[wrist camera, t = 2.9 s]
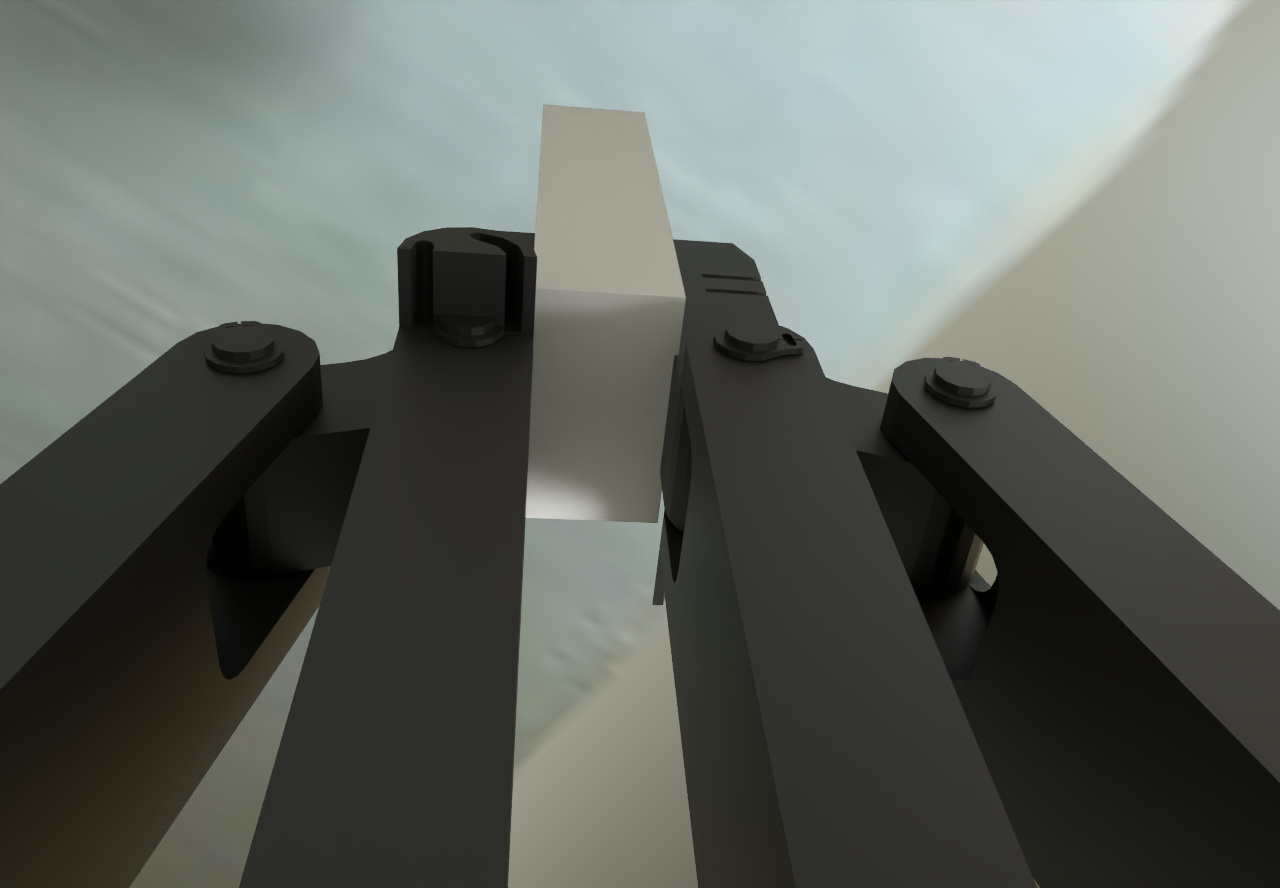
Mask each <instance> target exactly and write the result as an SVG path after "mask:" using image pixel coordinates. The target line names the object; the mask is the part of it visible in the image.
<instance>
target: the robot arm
mask: <svg viewBox="0 0 1280 888" xmlns="http://www.w3.org/2000/svg"><path fill="white" fill-rule="evenodd" d="M397 255H398V292H399V330H398V334H397V337H396V341H395V344H394V348H393V350H391V351H389V352H387V353H385V354H382V355H379V356H376V357H372V358H369V359H365V360H359V361H353V362H347V363H337V364H328V365H320V354H319V351H318V348H317V346H316V343H315V341H314V340H312V339H311V338H309V337H308V336H306V335H305V334H303V333H302V332H300V331H297V330H294V329H290V328H287V327H283V326H280V325H272V324H261V323H260V322H256V321H241V324H238V323H237V322H232V323H225V324H221V325H220V326H219V327H215V328H211V329H208V330H204V331H200V332H197V333H195V334H193V335H191V336H189V337H188V338H186V339H184V340H182V341H180V342H179V343H177V344H176V345H174V346H173V347H172V348H171V349H169V350H168V351H167V352H166V353H164V354H163V355H162V356H161V357H159V358H158V359H157V360H156V361H154V362H153V363H152V364H151V365H149V366H148V367H147V368H146V369H144V370H143V371H142V372H141V373H139V374H138V375H137V376H136V377H134V378H133V379H132V380H131V381H129V382H128V383H127V384H126V385H124V386H123V387H122V388H121V389H119V390H118V391H117V392H116V393H114V394H113V395H112V396H111V397H109V398H108V399H107V400H106V401H104V402H103V403H102V404H100V405H99V406H98V407H97V408H95V409H94V410H93V411H92V412H90V413H89V414H88V415H87V416H85V417H84V418H83V419H82V420H80V421H79V422H78V423H77V424H75V425H74V426H73V427H72V428H70V429H69V430H68V431H67V432H65V433H64V434H63V435H62V436H60V437H59V438H58V439H57V440H55V441H54V442H53V443H52V444H50V445H49V446H48V447H47V448H45V449H44V450H43V451H42V452H40V453H39V454H38V455H37V456H35V457H34V458H33V459H32V460H30V461H29V462H28V463H27V464H25V465H24V466H23V467H21V468H20V469H19V470H18V471H16V472H15V473H14V474H13V475H11V476H10V477H9V478H8V479H6V480H5V481H4V482H3V483H1V484H0V888H129V887H130V885H131V884H132V883H133V881H134V880H135V878H136V877H137V875H138V874H139V872H140V871H141V869H142V868H143V866H144V865H145V863H146V862H147V860H148V859H149V857H150V856H151V854H152V853H153V851H154V850H155V848H156V847H157V845H158V844H159V843H160V841H161V840H162V838H163V837H164V835H165V834H166V832H167V831H168V829H169V828H170V826H171V825H172V823H173V822H174V820H175V819H176V817H177V816H178V814H179V813H180V811H181V810H182V808H183V807H184V805H185V804H186V802H187V801H188V800H189V798H190V797H191V795H192V794H193V792H194V791H195V789H196V788H197V786H198V785H199V783H200V782H201V780H202V779H203V777H204V776H205V774H206V773H207V771H208V770H209V768H210V767H211V765H212V764H213V762H214V761H215V759H216V758H217V757H218V755H219V754H220V752H221V751H222V749H223V748H224V746H225V745H226V743H227V742H228V740H229V739H230V737H231V736H232V734H233V733H234V731H235V730H236V728H237V727H238V725H239V724H240V722H241V721H242V719H243V718H244V717H245V715H246V714H247V712H248V711H249V709H250V708H251V706H252V705H253V703H254V702H255V700H256V699H257V697H258V696H259V694H260V693H261V691H262V690H263V688H264V687H265V685H266V684H267V682H268V681H269V679H270V678H271V676H272V675H273V674H274V672H275V671H276V669H277V668H278V666H279V665H280V663H281V662H282V660H283V659H284V657H285V656H286V654H287V653H288V651H289V650H290V648H291V647H292V645H293V644H294V642H295V641H296V639H297V638H298V636H299V635H300V633H301V632H302V631H303V629H304V628H305V626H306V625H307V623H308V622H309V620H310V619H311V617H312V616H313V614H314V613H315V611H316V610H317V608H318V607H319V610H318V613H317V617H316V620H315V624H314V627H313V631H312V634H311V638H310V641H309V645H308V648H307V652H306V655H305V659H304V662H303V666H302V669H301V673H300V676H299V680H298V683H297V687H296V690H295V694H294V697H293V701H292V704H291V708H290V711H289V715H288V718H287V722H286V725H285V729H284V732H283V736H282V739H281V743H280V746H279V750H278V753H277V757H276V760H275V764H274V767H273V771H272V774H271V778H270V781H269V785H268V788H267V792H266V795H265V799H264V802H263V806H262V809H261V813H260V816H259V819H258V823H257V826H256V830H255V833H254V837H253V840H252V844H251V847H250V851H249V854H248V858H247V861H246V865H245V868H244V872H243V875H242V879H241V882H240V886H239V888H508V872H509V851H510V830H511V810H512V809H511V808H512V789H513V768H514V747H515V727H516V706H517V685H518V664H519V643H520V622H521V602H522V581H523V560H524V539H525V518H547V519H572V520H596V521H621V522H645V523H658V515H659V507H660V500H661V492H663V499H664V507H665V511H664V519H663V527H662V534H661V542H660V550H659V558H658V566H657V573H656V581H655V589H654V597H653V604H652V605H663V602H664V598H665V601H666V610H667V618H668V627H669V636H670V645H671V653H672V662H673V671H674V679H675V688H676V697H677V705H678V714H679V723H680V731H681V740H682V749H683V758H684V767H685V776H686V784H687V793H688V801H689V810H690V819H691V828H692V836H693V845H694V854H695V862H696V871H697V880H698V888H1037V886H1036V884H1035V881H1036V882H1037V884H1038V885H1039V886H1040V888H1280V611H1279V610H1278V609H1277V608H1276V607H1275V606H1274V605H1272V604H1271V603H1270V602H1269V601H1268V600H1267V599H1266V598H1264V597H1263V596H1262V595H1261V594H1260V593H1258V592H1257V591H1256V590H1255V589H1254V588H1253V587H1252V586H1250V585H1249V584H1248V583H1247V582H1246V581H1245V580H1243V579H1242V578H1241V577H1240V576H1239V575H1238V574H1236V573H1235V572H1234V571H1233V570H1232V569H1231V568H1229V567H1228V566H1227V565H1226V564H1225V563H1224V562H1222V561H1221V560H1220V559H1219V558H1218V557H1217V556H1215V555H1214V554H1213V553H1212V552H1211V551H1210V550H1208V549H1207V548H1206V547H1205V546H1204V545H1202V544H1201V543H1200V542H1199V541H1198V540H1197V539H1196V538H1194V537H1193V536H1192V535H1191V534H1190V533H1189V532H1187V531H1186V530H1185V529H1184V528H1183V527H1181V526H1180V525H1179V524H1178V523H1177V522H1176V521H1175V520H1173V519H1172V518H1171V517H1170V516H1169V515H1167V514H1166V513H1165V512H1164V511H1163V510H1162V509H1161V508H1159V507H1158V506H1157V505H1156V504H1155V503H1154V502H1152V501H1151V500H1150V499H1149V498H1147V496H1145V495H1144V494H1143V493H1142V492H1141V491H1140V490H1138V489H1137V488H1136V487H1135V486H1134V485H1133V484H1131V483H1130V482H1129V481H1128V480H1127V479H1125V478H1124V477H1123V476H1122V475H1121V474H1120V473H1119V472H1117V471H1116V470H1115V469H1114V468H1113V467H1112V466H1110V465H1109V464H1108V463H1107V462H1105V460H1103V459H1102V458H1101V457H1100V456H1099V455H1098V454H1096V453H1095V452H1094V451H1093V450H1092V449H1090V448H1089V447H1088V446H1087V445H1086V444H1085V443H1084V442H1082V441H1081V440H1080V439H1079V438H1078V437H1077V436H1075V435H1074V434H1073V433H1072V432H1071V431H1070V430H1068V429H1067V428H1066V427H1065V426H1063V424H1061V423H1060V422H1059V421H1058V420H1057V419H1056V418H1054V417H1053V416H1052V415H1051V414H1050V413H1049V412H1047V411H1046V410H1045V409H1044V408H1042V406H1040V405H1039V404H1038V403H1037V402H1036V401H1035V400H1033V399H1032V398H1031V397H1030V396H1029V395H1027V394H1026V393H1025V392H1024V391H1023V390H1022V389H1021V388H1019V387H1018V386H1017V385H1015V384H1014V383H1012V382H1011V381H1009V380H1008V379H1006V378H1005V377H1003V376H1001V375H1000V374H999V373H996V372H994V371H991V370H989V369H986V368H983V367H981V366H980V365H979V364H978V363H976V362H972V361H968V360H964V359H963V362H962V361H960V359H959V358H952V357H944V358H943V359H942V358H941V359H940V358H923V359H918V360H912V361H906V362H905V363H903V364H902V365H900V366H899V367H897V368H896V369H894V373H893V377H892V381H891V385H890V389H889V393H888V394H887V393H882V392H878V391H873V390H869V389H864V388H860V387H855V386H851V385H847V384H844V383H840V382H837V381H833V380H831V379H828V378H826V377H825V375H824V373H823V370H822V368H821V366H820V363H819V361H818V358H817V356H816V354H815V351H814V349H813V348H812V347H811V346H810V344H809V343H808V342H807V341H806V339H805V338H803V337H801V336H800V335H798V334H796V333H795V332H793V331H791V330H790V329H788V328H785V327H782V326H779V325H778V322H777V320H776V317H775V314H774V312H773V309H772V306H771V304H770V301H769V298H768V296H766V290H765V288H764V285H763V282H762V281H761V277H760V274H759V272H758V269H757V266H756V264H755V261H754V260H753V259H752V258H751V257H749V256H748V255H747V254H746V253H744V252H743V251H742V250H740V249H739V248H738V247H736V246H735V245H734V244H733V243H718V242H703V241H688V240H673V238H672V233H671V229H670V224H669V220H668V216H667V211H666V207H665V202H664V198H663V193H662V189H661V184H660V180H659V175H658V171H657V166H656V162H655V157H654V153H653V148H652V144H651V139H650V135H649V131H648V126H647V122H646V117H645V113H644V112H632V111H619V110H606V109H594V108H581V107H568V106H555V105H543V119H542V135H541V150H540V166H539V182H538V197H537V213H536V228H535V233H521V232H506V231H494V230H487V229H480V228H473V227H471V228H442V229H436V230H429V231H423V232H421V233H419V234H416V235H414V236H411V237H409V238H406V239H405V240H404V241H403V243H402V244H401V245H400V246H399V247H398V248H397ZM983 544H985V545H986V547H987V548H988V550H989V551H990V553H991V554H992V556H993V559H994V562H995V565H996V568H997V571H998V574H997V577H996V580H995V582H994V583H993V585H992V587H991V586H990V585H989V584H988V583H986V581H985V580H984V579H983V578H982V577H981V576H980V575H979V573H978V572H977V571H976V570H975V568H976V565H977V562H978V559H979V556H980V553H981V550H982V547H983ZM319 605H320V606H319ZM1033 878H1034V879H1035V881H1034V879H1033Z"/></svg>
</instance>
